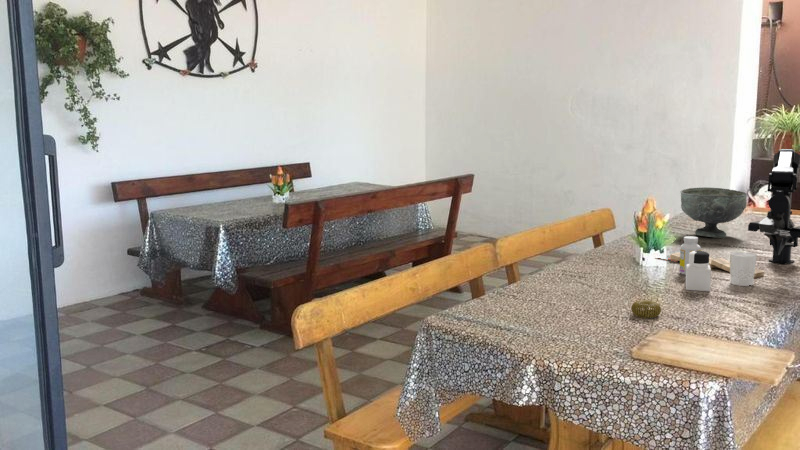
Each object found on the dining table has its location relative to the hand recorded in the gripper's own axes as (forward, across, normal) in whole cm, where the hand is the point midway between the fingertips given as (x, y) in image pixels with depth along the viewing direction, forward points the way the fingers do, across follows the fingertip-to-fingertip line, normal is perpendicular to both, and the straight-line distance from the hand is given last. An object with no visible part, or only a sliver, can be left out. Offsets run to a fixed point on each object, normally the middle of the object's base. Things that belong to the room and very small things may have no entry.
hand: (777, 254), depth 245 cm
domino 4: (+8, -14, 0) cm, 16 cm away
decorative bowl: (+8, -61, +53) cm, 81 cm away
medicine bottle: (+9, -9, -29) cm, 31 cm away
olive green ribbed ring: (+9, +1, -66) cm, 67 cm away
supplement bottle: (+9, -23, -14) cm, 28 cm away
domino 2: (+8, -38, 0) cm, 38 cm away
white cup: (+9, -4, -13) cm, 16 cm away
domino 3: (+8, -23, 0) cm, 24 cm away
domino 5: (+8, -6, 0) cm, 10 cm away
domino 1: (+8, -31, +1) cm, 32 cm away
